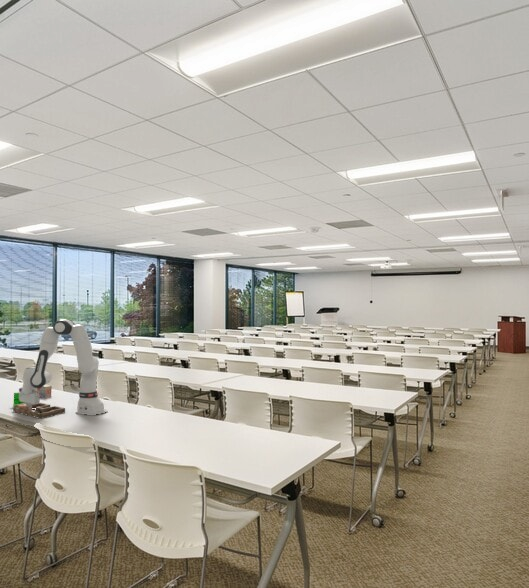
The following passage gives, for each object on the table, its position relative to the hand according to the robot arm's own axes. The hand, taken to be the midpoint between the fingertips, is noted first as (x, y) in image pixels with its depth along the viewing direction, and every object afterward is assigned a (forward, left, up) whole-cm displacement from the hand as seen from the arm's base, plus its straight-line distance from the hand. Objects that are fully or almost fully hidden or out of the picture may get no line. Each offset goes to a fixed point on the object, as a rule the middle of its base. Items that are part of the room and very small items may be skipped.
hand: (29, 409), depth 316 cm
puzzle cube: (+25, -10, -2) cm, 27 cm away
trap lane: (-6, -5, -2) cm, 8 cm away
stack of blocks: (+47, -35, -2) cm, 59 cm away
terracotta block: (+5, 0, -3) cm, 6 cm away
